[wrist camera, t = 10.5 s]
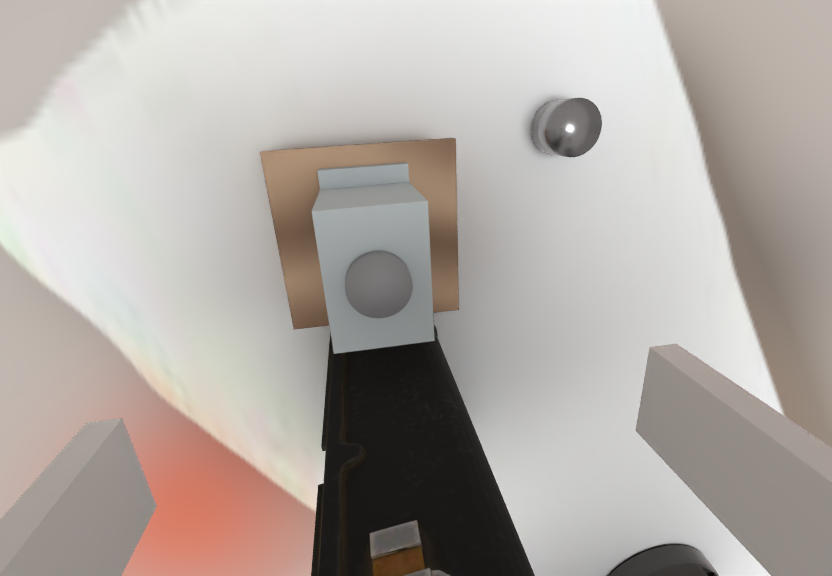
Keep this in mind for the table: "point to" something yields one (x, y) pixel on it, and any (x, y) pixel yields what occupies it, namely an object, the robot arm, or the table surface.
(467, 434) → the black carrying case
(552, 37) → the table surface
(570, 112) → the dark grey metallic dome
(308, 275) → the stand
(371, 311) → the housing
